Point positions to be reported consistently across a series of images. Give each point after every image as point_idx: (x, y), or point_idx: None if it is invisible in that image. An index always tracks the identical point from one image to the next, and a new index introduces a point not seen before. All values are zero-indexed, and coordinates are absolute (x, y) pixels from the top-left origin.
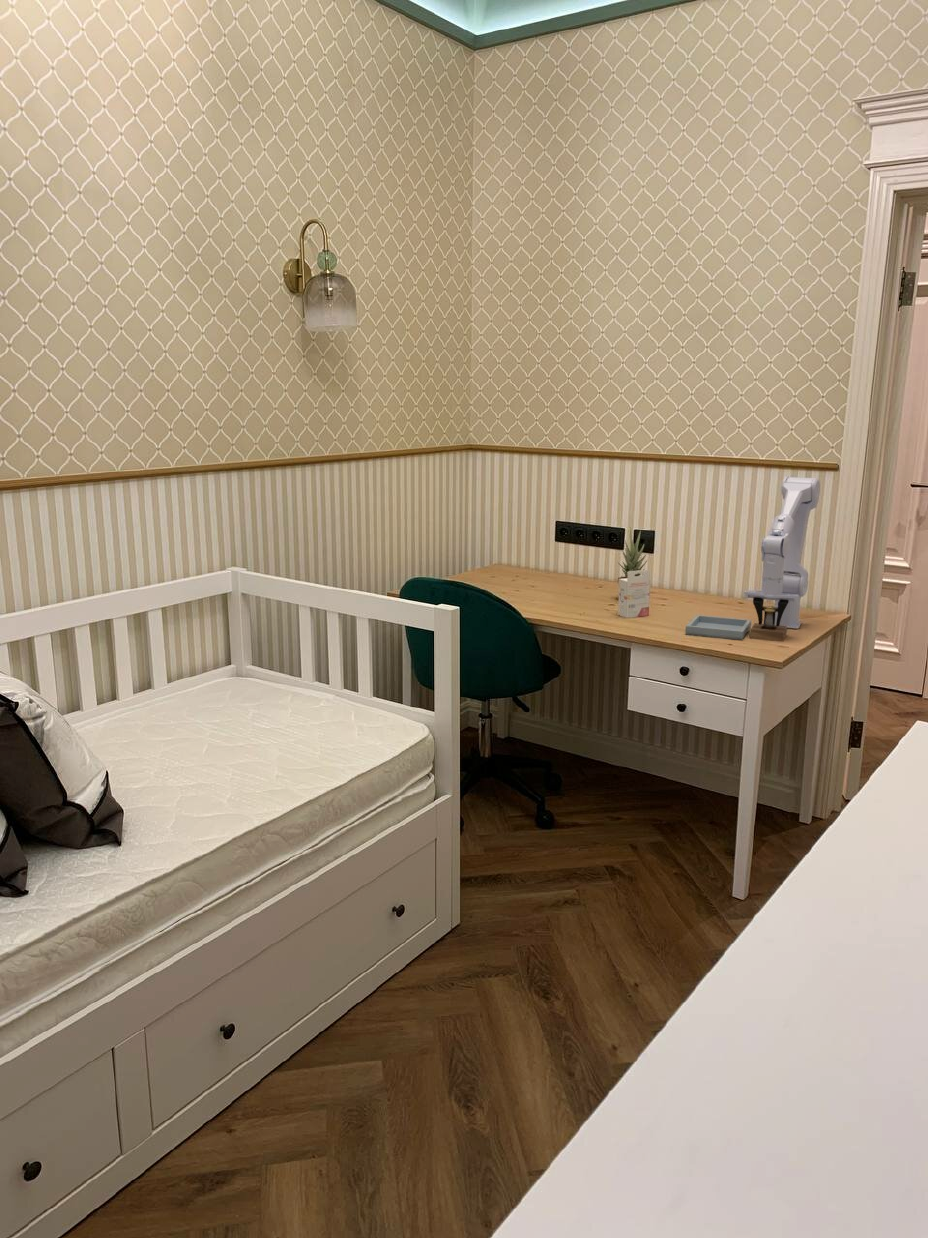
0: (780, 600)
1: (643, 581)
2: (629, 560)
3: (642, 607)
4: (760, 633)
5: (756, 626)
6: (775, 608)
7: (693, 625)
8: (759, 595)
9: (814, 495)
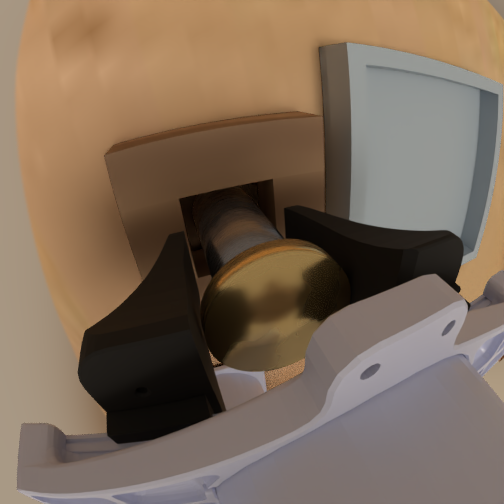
0: (198, 411)
1: None
2: None
3: None
4: (253, 120)
5: None
6: (229, 322)
7: (484, 153)
8: (478, 314)
9: None
